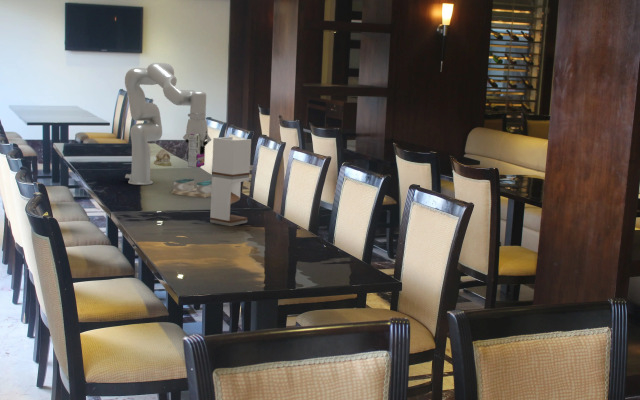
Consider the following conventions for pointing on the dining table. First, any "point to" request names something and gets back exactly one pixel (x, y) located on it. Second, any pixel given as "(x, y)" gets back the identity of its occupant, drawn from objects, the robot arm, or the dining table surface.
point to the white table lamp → (228, 178)
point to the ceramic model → (162, 158)
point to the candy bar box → (195, 152)
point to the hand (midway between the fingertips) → (196, 153)
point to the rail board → (192, 188)
